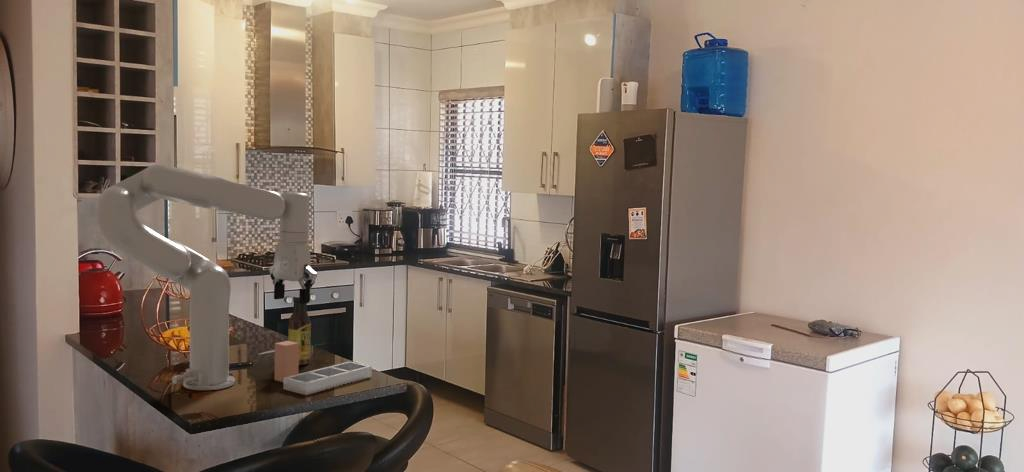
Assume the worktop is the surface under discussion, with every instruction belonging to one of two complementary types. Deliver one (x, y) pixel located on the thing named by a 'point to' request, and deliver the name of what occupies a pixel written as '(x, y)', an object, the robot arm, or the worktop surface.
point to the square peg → (286, 359)
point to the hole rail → (327, 378)
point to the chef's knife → (267, 352)
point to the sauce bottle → (300, 330)
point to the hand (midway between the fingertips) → (291, 301)
